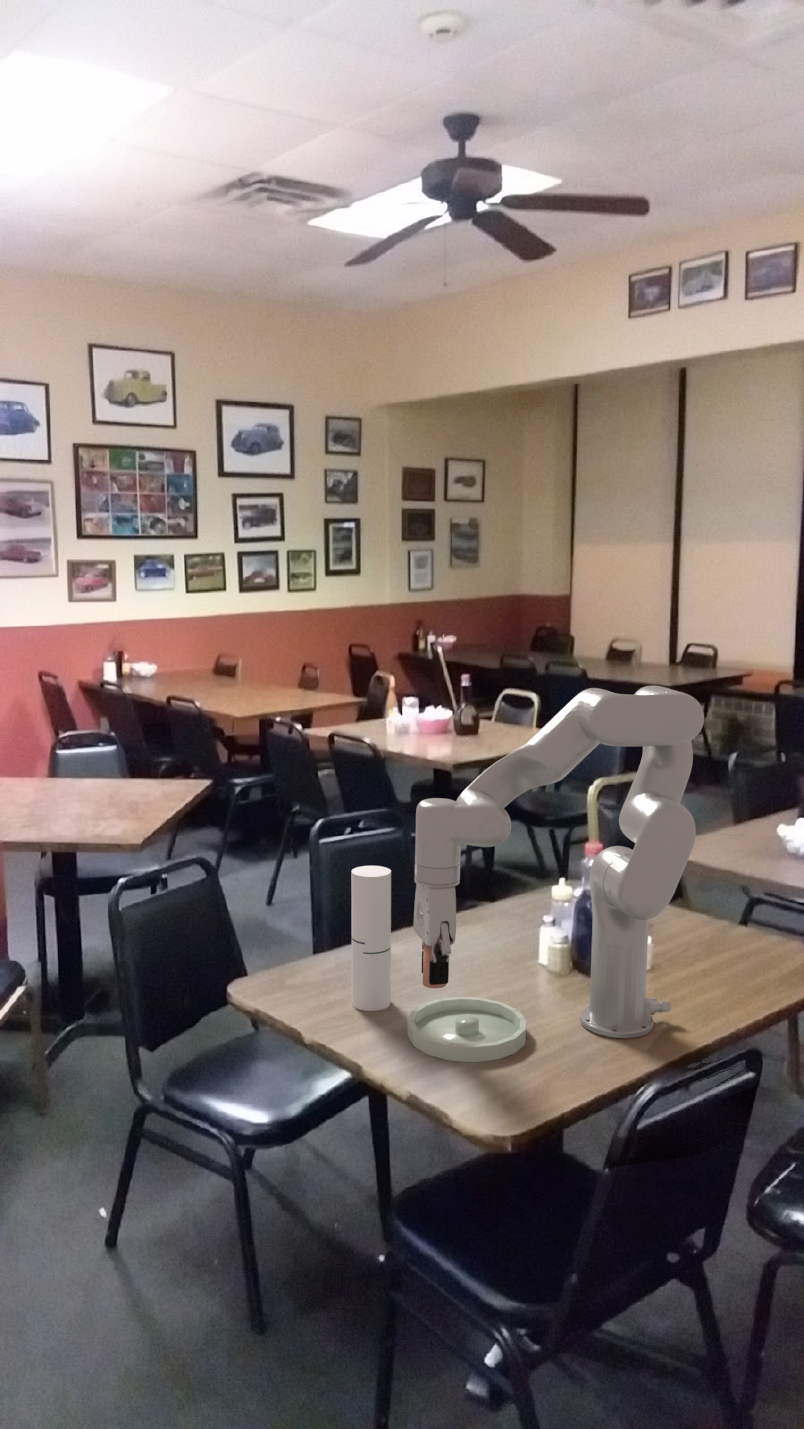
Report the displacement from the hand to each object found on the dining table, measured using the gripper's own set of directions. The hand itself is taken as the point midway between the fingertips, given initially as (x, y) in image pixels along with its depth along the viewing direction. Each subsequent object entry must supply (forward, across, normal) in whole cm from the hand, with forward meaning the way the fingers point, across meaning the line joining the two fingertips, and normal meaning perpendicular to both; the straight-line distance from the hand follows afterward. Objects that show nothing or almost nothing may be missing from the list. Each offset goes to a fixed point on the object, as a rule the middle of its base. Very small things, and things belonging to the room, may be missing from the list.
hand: (434, 977), depth 180 cm
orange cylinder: (+1, 0, 0) cm, 1 cm away
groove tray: (+11, 0, +6) cm, 12 cm away
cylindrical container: (+11, -17, -7) cm, 22 cm away
